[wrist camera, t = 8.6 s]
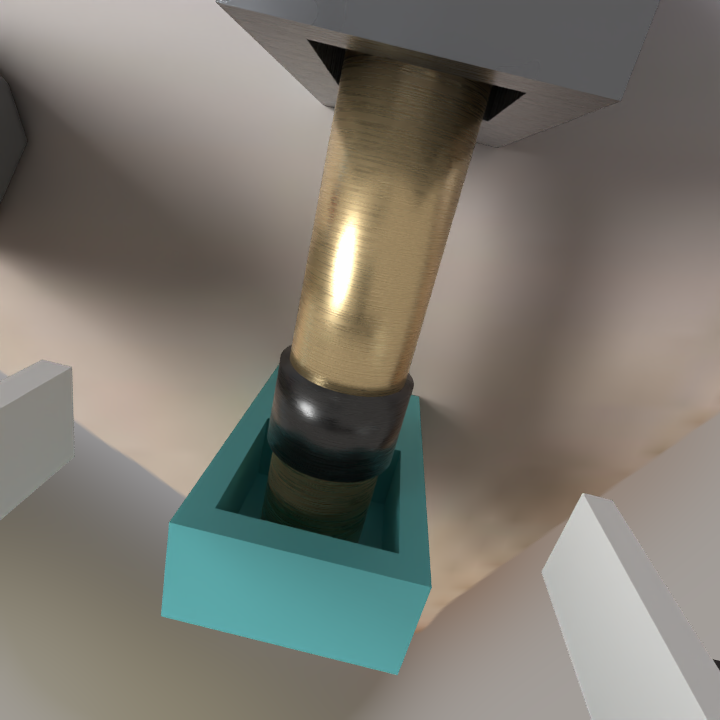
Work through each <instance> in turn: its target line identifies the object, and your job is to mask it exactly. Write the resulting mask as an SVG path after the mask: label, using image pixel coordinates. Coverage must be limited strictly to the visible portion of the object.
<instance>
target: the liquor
mask: <svg viewBox="0 0 720 720" xmlns="http://www.w3.org/2000/svg"><path fill="white" fill-rule="evenodd" d="M26 144H27V138H26V135H25V132H24V129H23V126H22V123H21V120H20V117H19V114H18V111H17V108H16V105H15V102H14V99H13V96H12V93H11V90H10V87H9V84H8V83H7V82H6V81H5V80H4V79H3V78H2V77H1V76H0V203H1V201H2V198H3V196H4V194H5V191H6V189H7V187H8V185H9V182H10V180H11V178H12V176H13V173H14V171H15V169H16V166H17V164H18V162H19V160H20V157H21V155H22V153H23V151H24V148H25V146H26Z"/></svg>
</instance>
